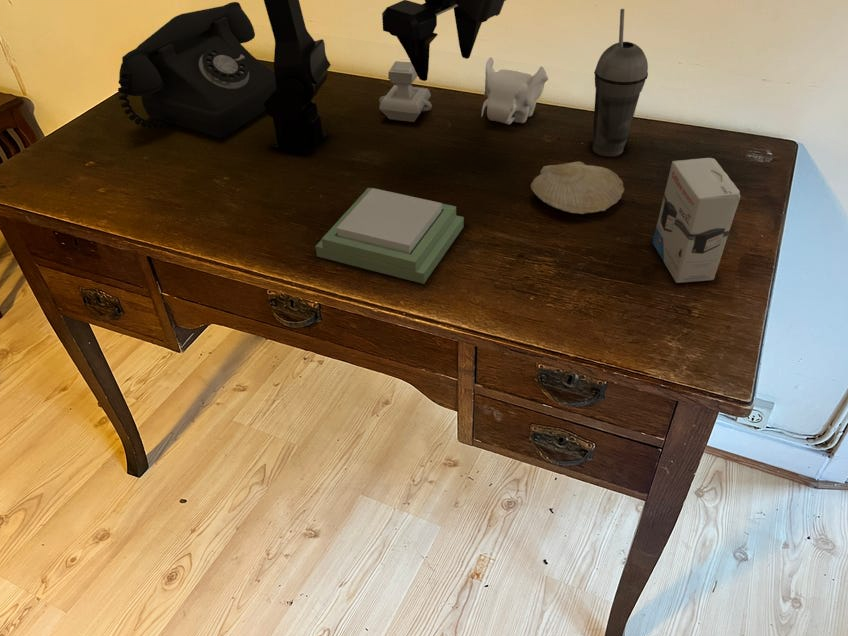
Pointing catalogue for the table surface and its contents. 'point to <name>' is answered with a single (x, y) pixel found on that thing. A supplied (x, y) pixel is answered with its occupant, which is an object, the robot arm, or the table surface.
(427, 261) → the scale
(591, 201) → the seashell
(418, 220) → the square push button
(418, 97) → the grey blocky piece
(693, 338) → the table surface
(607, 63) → the beverage cup
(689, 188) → the ink box
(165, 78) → the rotary telephone
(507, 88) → the elephant figurine
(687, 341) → the table surface
